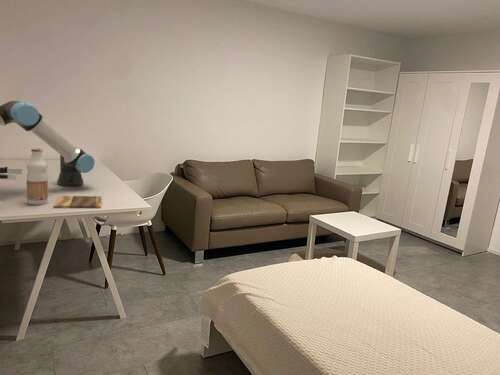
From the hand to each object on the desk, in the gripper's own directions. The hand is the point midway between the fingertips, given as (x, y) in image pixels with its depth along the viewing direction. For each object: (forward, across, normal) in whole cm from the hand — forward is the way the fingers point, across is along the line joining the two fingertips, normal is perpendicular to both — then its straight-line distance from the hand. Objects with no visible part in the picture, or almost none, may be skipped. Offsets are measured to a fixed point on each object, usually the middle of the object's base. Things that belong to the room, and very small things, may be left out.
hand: (19, 174), depth 189 cm
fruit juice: (+8, 0, -15) cm, 17 cm away
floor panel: (+28, 0, -15) cm, 31 cm away
